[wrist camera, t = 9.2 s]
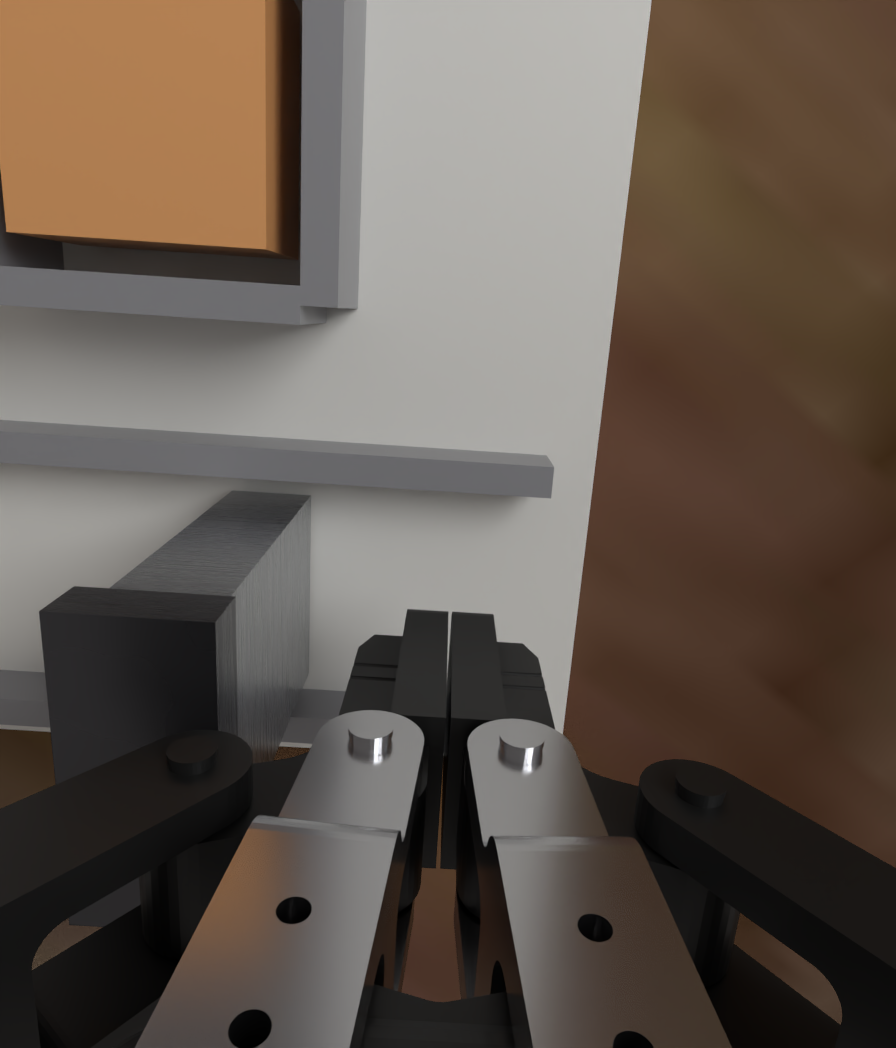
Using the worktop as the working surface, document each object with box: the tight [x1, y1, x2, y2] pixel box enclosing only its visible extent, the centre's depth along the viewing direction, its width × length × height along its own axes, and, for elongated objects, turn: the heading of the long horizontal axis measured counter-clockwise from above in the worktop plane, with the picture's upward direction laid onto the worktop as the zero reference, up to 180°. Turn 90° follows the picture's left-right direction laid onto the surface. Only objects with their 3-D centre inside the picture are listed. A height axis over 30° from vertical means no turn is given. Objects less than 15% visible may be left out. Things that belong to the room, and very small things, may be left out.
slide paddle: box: [39, 490, 311, 927], centre depth 12 cm, size 2×4×7 cm, turn 176°
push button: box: [0, 0, 300, 260], centre depth 12 cm, size 4×4×2 cm
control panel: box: [0, 0, 652, 754], centre depth 14 cm, size 16×25×6 cm, turn 176°
